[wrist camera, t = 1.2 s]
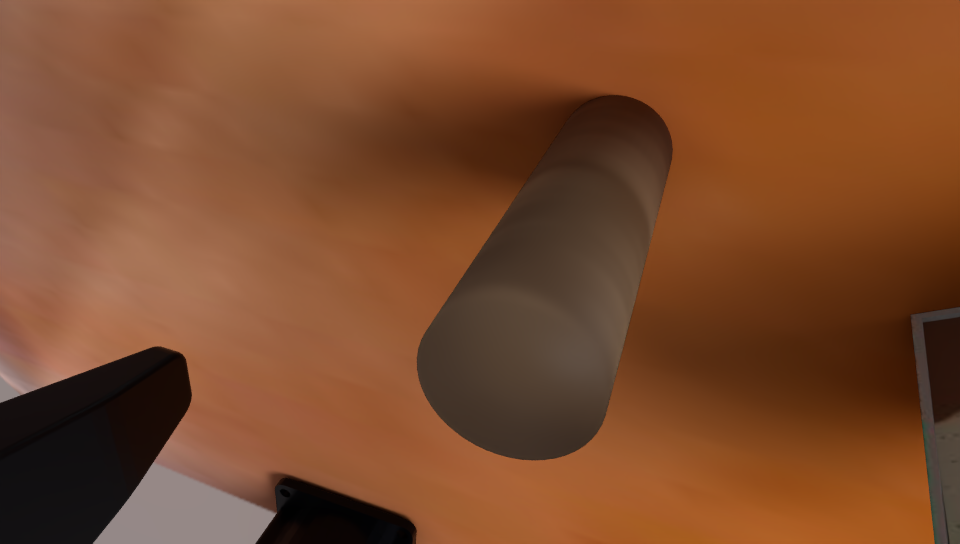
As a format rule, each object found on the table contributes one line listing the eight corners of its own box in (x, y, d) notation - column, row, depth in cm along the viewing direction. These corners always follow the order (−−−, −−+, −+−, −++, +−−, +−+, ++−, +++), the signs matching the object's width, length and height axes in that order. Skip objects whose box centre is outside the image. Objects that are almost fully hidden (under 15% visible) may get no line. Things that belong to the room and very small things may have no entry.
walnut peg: (552, 188, 20) (413, 427, 12) (568, 85, 18) (421, 279, 10) (657, 213, 19) (587, 483, 11) (685, 108, 18) (626, 334, 10)
